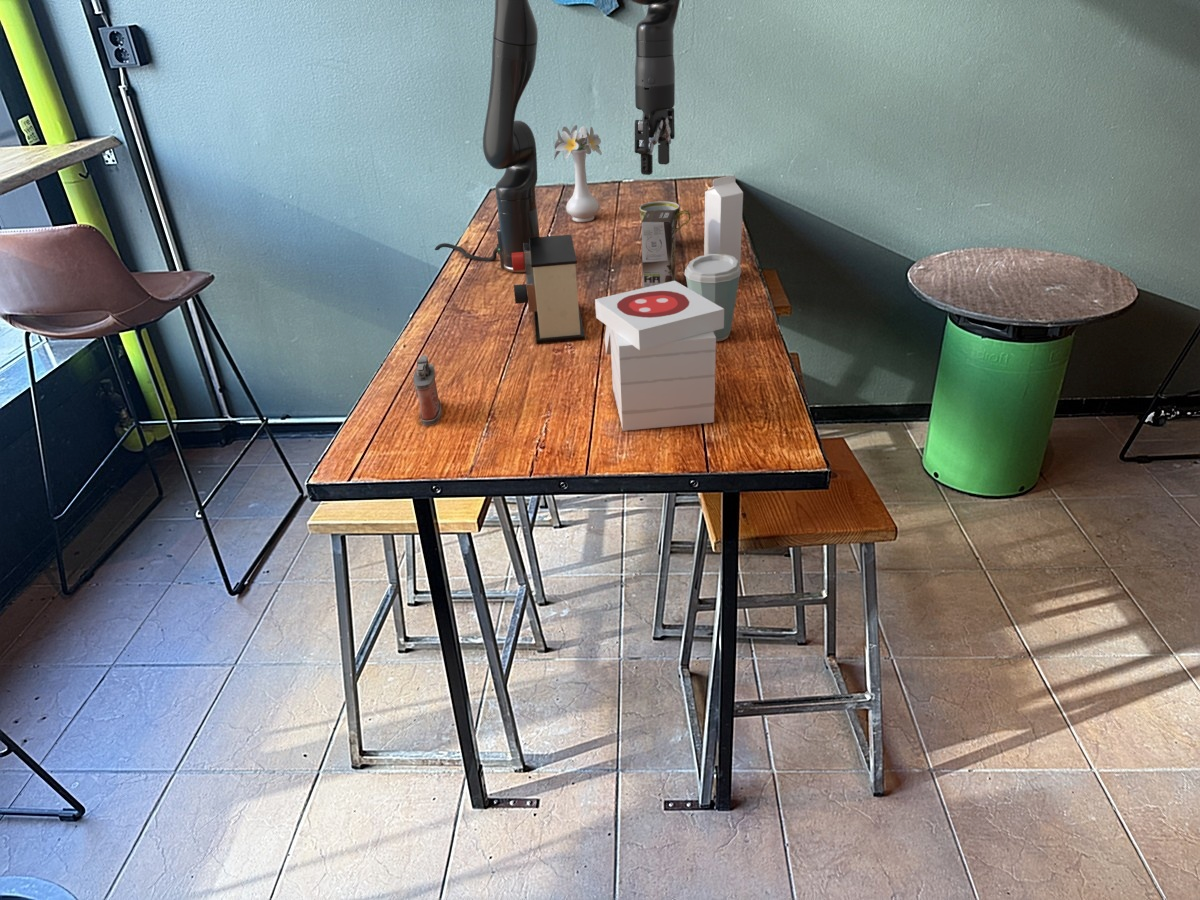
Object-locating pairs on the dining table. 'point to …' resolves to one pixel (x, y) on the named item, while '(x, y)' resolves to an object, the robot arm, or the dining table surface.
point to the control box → (553, 288)
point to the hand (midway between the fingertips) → (655, 169)
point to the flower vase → (579, 170)
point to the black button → (520, 293)
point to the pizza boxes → (661, 354)
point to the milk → (723, 218)
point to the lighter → (427, 391)
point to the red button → (518, 261)
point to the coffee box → (658, 247)
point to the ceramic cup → (663, 206)
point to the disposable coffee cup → (716, 284)
